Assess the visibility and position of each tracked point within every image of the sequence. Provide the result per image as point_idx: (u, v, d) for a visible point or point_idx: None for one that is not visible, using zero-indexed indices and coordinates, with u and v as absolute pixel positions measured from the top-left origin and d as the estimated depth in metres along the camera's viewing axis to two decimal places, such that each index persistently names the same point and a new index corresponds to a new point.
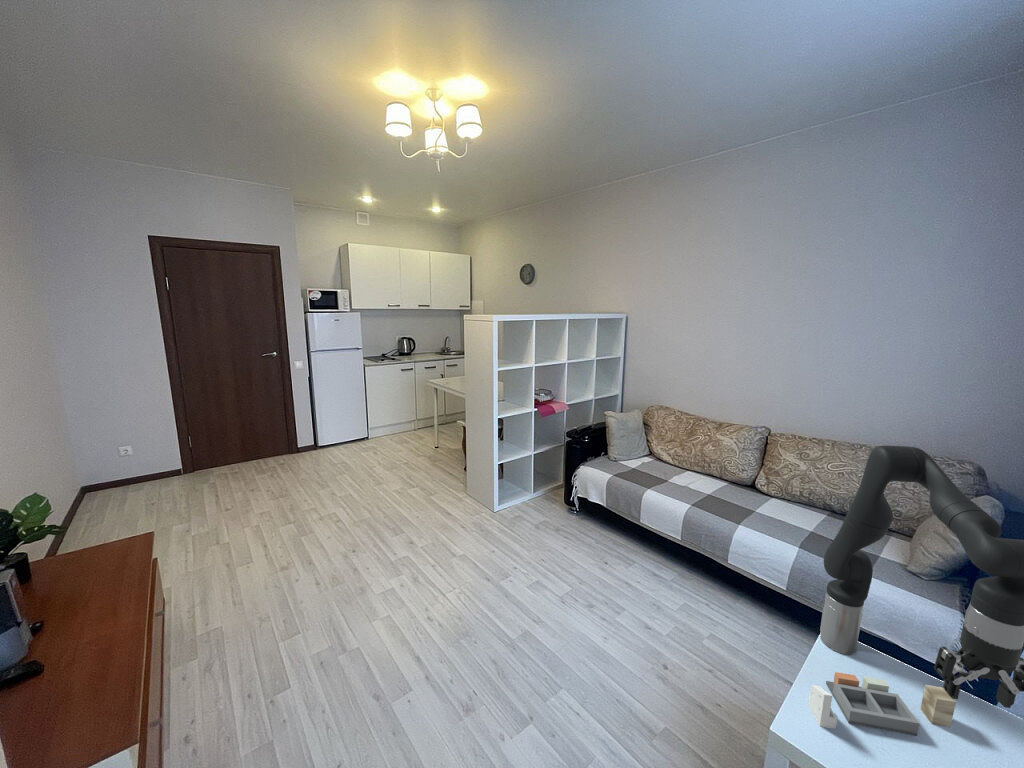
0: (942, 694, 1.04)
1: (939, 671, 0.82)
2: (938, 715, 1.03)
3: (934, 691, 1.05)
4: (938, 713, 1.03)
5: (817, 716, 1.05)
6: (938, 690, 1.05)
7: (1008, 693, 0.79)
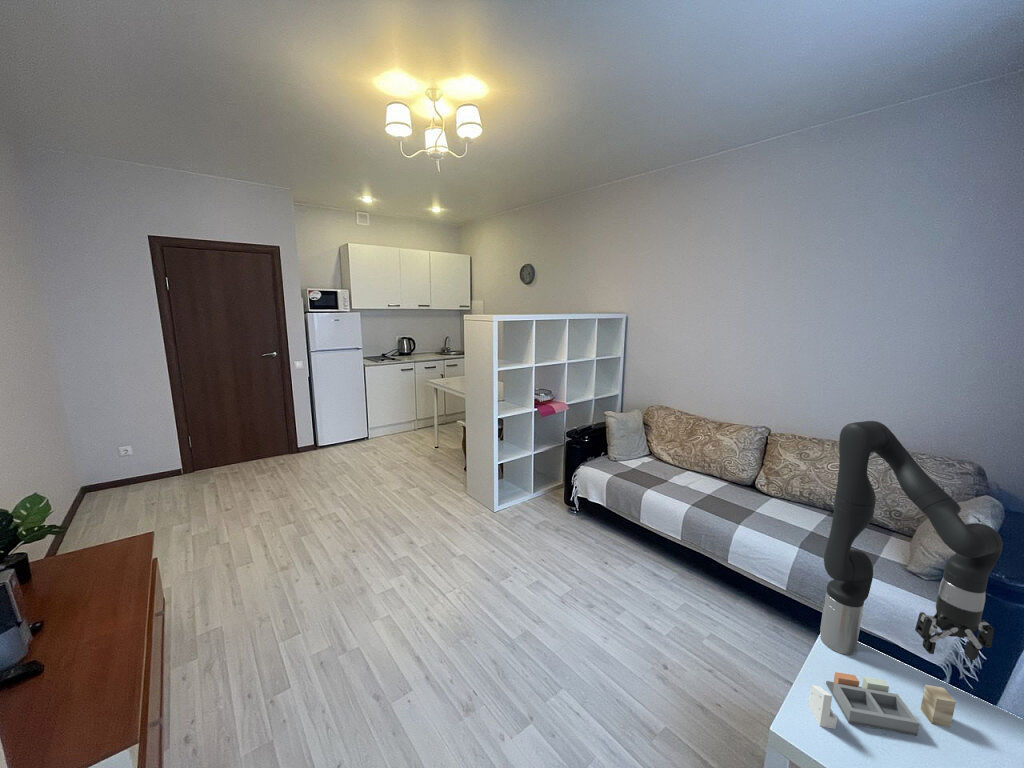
0: (942, 694, 1.04)
1: (919, 632, 1.03)
2: (938, 715, 1.03)
3: (934, 691, 1.05)
4: (938, 713, 1.03)
5: (817, 716, 1.05)
6: (938, 690, 1.05)
7: (973, 648, 0.99)
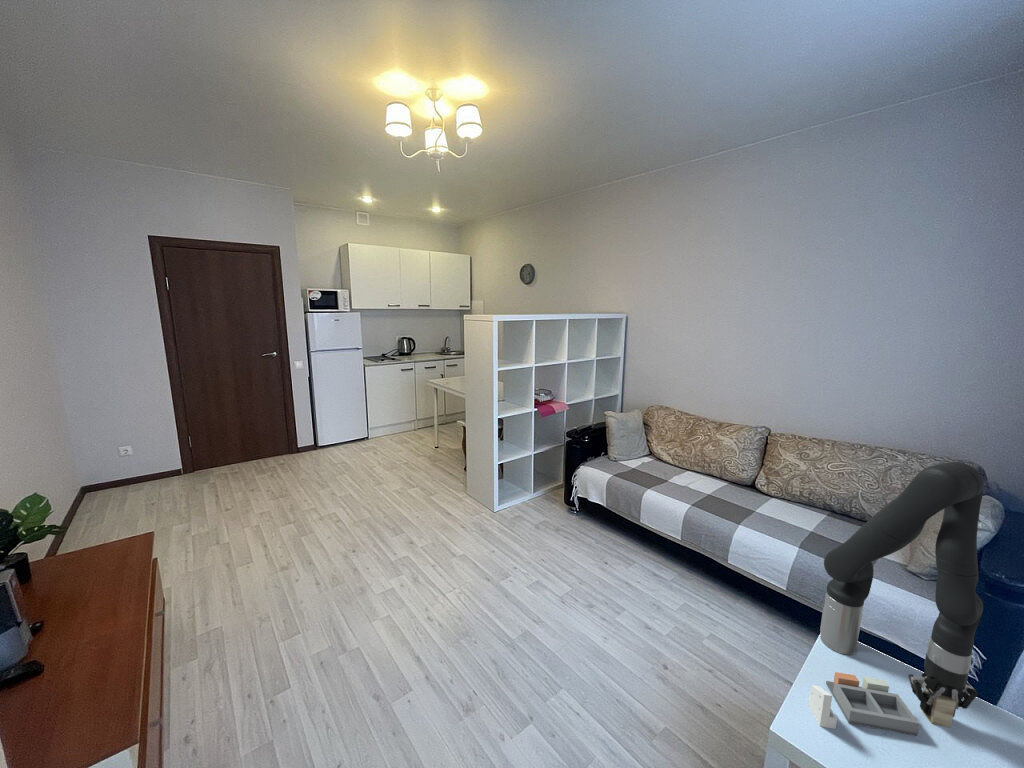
0: None
1: (916, 694, 1.06)
2: (938, 715, 1.03)
3: None
4: (938, 713, 1.03)
5: (817, 716, 1.05)
6: None
7: None
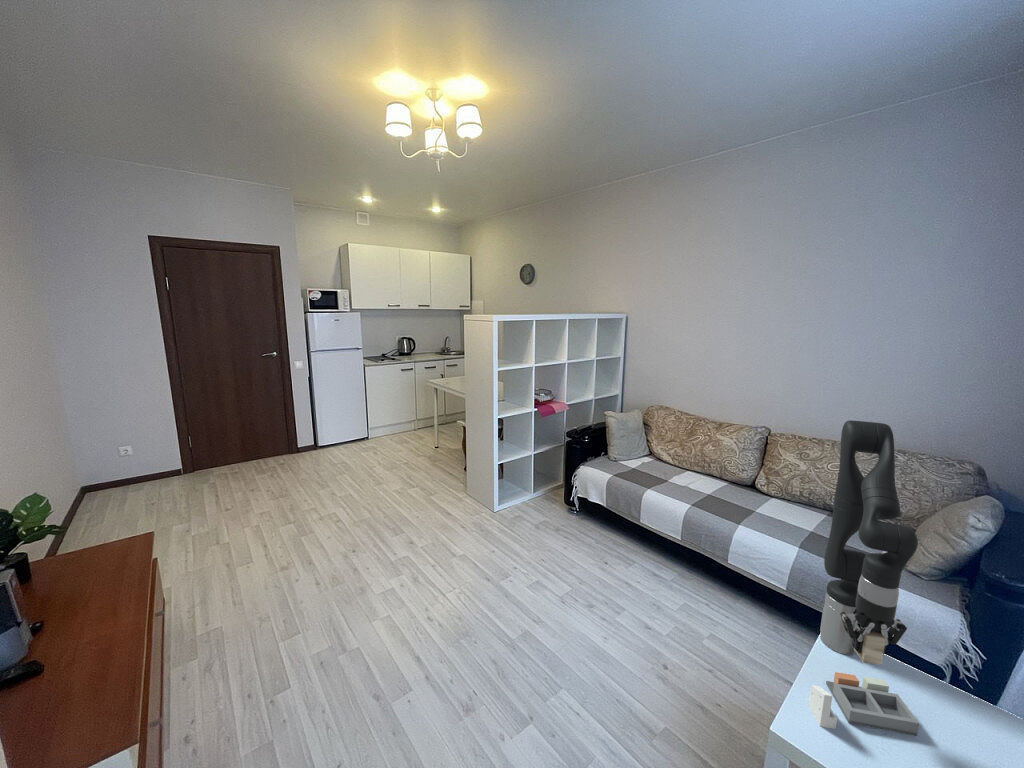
0: (873, 632, 1.02)
1: (848, 631, 1.04)
2: (869, 653, 1.02)
3: None
4: (869, 650, 1.02)
5: (817, 716, 1.05)
6: None
7: None
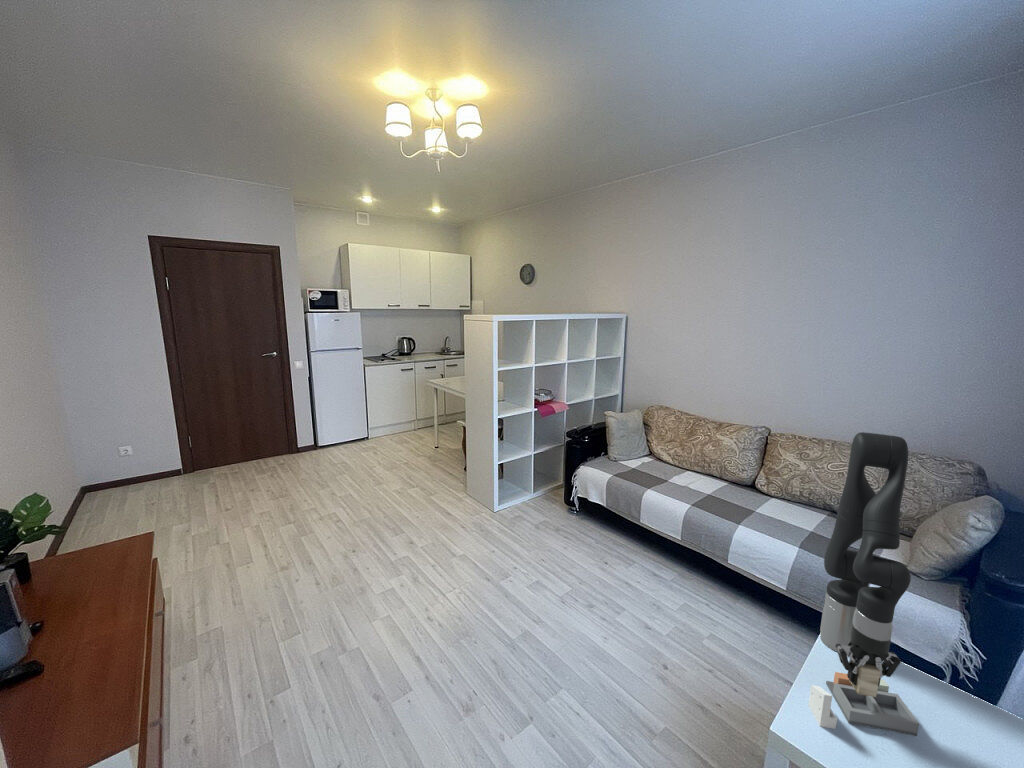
0: (867, 664, 1.04)
1: (843, 663, 1.06)
2: (864, 685, 1.04)
3: None
4: (864, 682, 1.04)
5: (817, 716, 1.05)
6: None
7: None
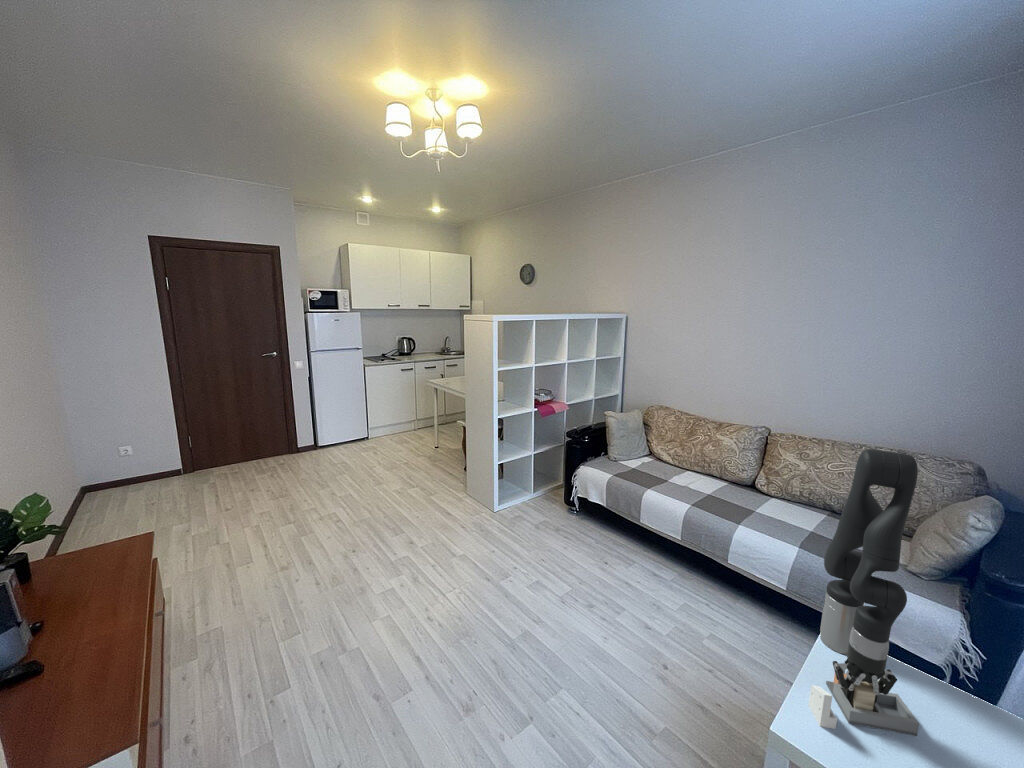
0: (863, 686, 1.05)
1: None
2: (859, 707, 1.05)
3: None
4: (859, 704, 1.05)
5: (817, 716, 1.05)
6: None
7: None
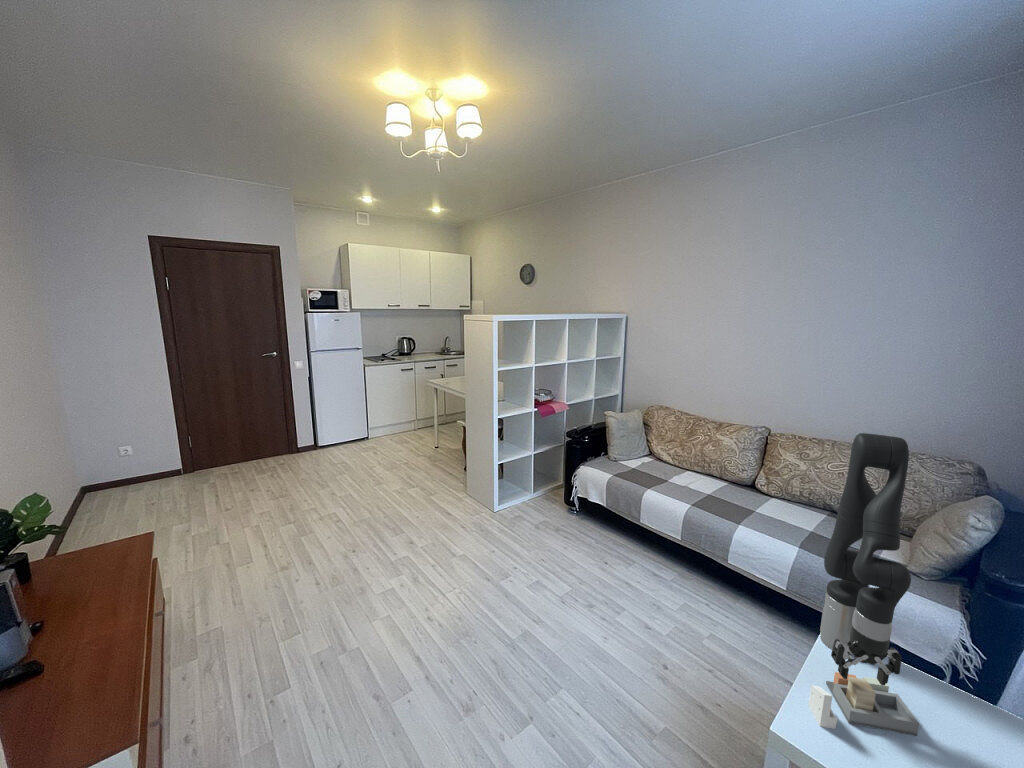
0: (863, 686, 1.05)
1: (834, 658, 1.07)
2: (859, 707, 1.05)
3: (856, 683, 1.06)
4: (859, 704, 1.05)
5: (817, 716, 1.05)
6: (860, 682, 1.07)
7: (883, 674, 1.04)
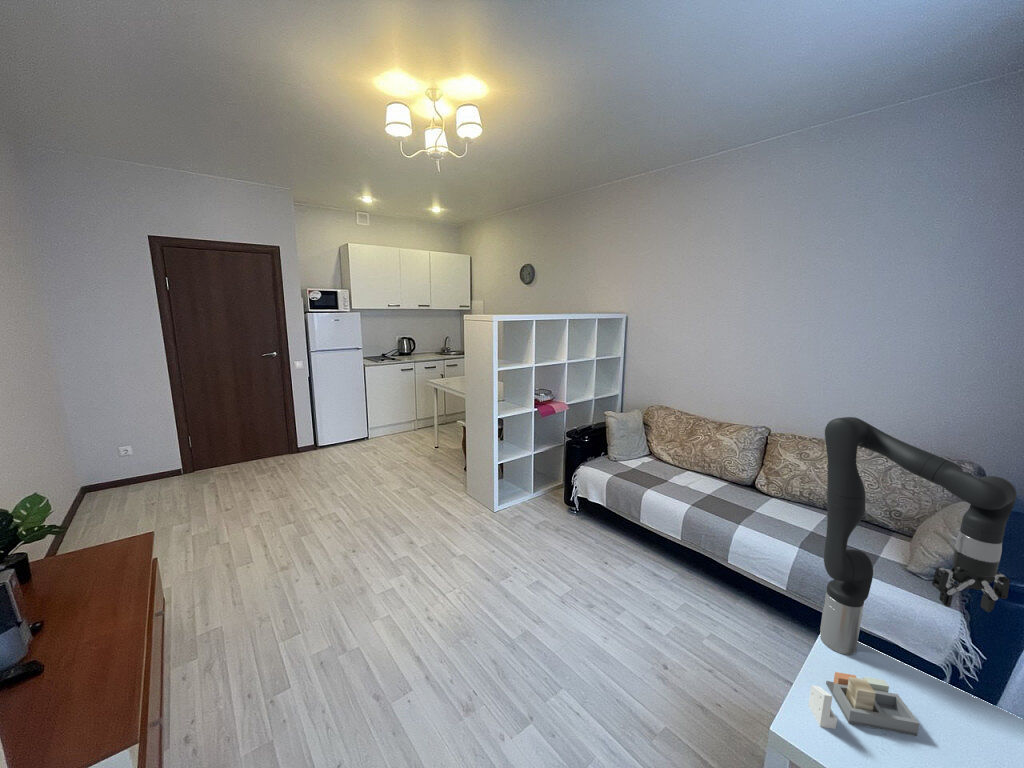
0: (863, 686, 1.05)
1: (936, 585, 1.05)
2: (859, 707, 1.05)
3: (856, 683, 1.06)
4: (859, 704, 1.05)
5: (817, 716, 1.05)
6: (860, 682, 1.07)
7: (989, 600, 1.02)
